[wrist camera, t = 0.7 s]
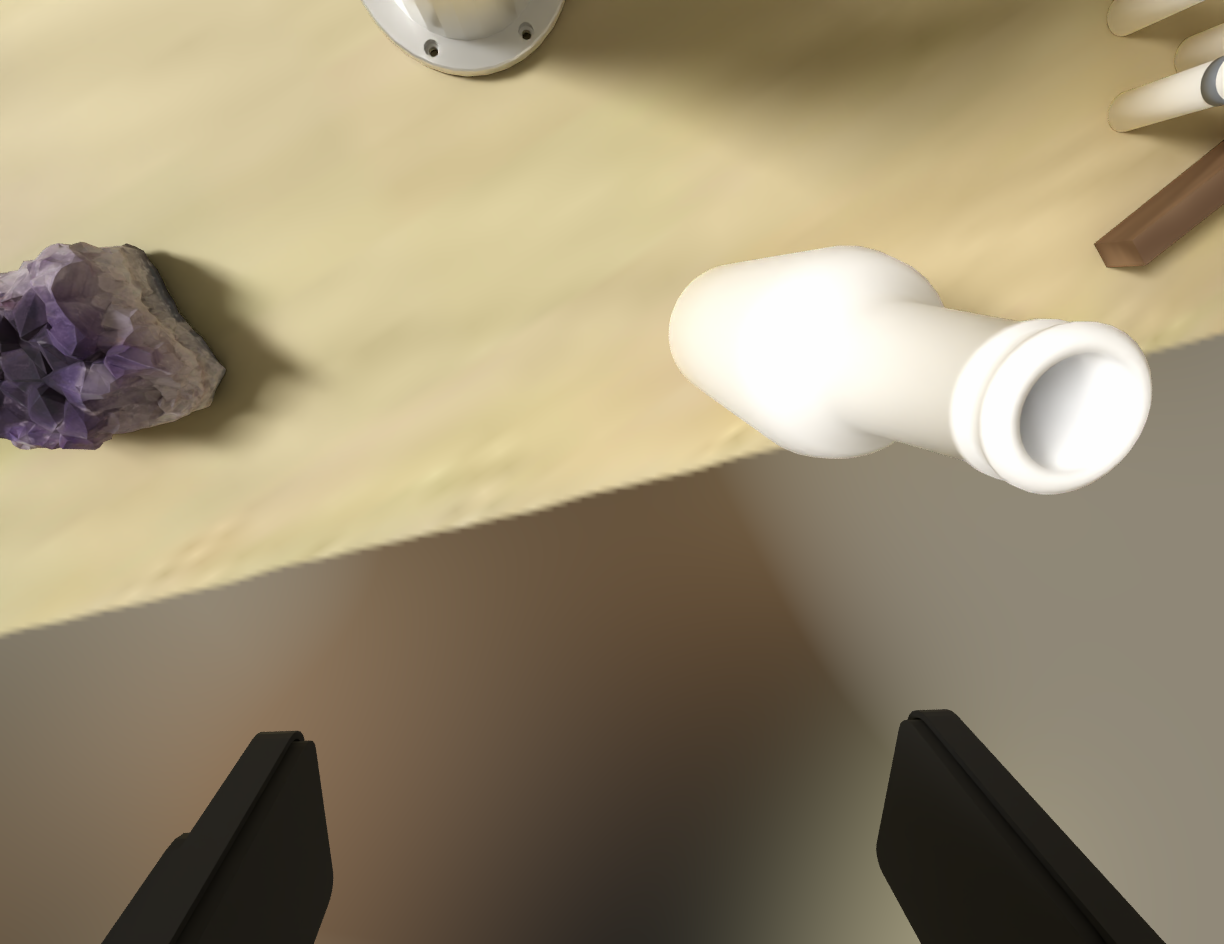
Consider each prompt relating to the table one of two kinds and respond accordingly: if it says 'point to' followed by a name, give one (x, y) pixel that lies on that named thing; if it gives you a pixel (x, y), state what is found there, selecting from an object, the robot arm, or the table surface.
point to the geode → (95, 349)
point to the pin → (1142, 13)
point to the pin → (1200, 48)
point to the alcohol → (908, 369)
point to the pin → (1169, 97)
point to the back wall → (1167, 214)
